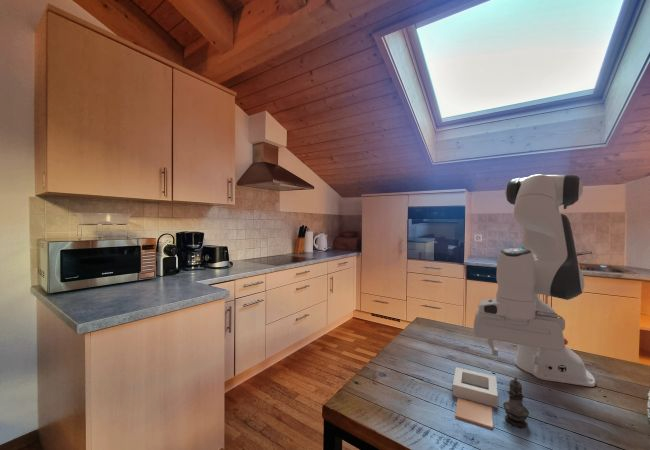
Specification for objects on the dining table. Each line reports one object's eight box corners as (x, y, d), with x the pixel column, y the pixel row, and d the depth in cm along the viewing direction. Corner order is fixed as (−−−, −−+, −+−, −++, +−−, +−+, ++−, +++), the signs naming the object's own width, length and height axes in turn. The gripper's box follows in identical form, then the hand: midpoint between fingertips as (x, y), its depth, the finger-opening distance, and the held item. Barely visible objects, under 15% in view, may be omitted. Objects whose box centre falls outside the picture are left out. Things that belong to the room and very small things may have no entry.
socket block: (496, 386, 90) (496, 376, 90) (497, 408, 80) (497, 396, 80) (456, 377, 96) (455, 367, 96) (452, 395, 86) (452, 384, 86)
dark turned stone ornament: (500, 421, 74) (500, 377, 74) (505, 411, 79) (505, 369, 79) (527, 433, 70) (526, 386, 70) (531, 421, 74) (530, 377, 74)
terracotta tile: (492, 409, 79) (492, 407, 79) (493, 429, 72) (493, 427, 72) (457, 399, 84) (457, 397, 84) (455, 417, 76) (455, 415, 76)
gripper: (561, 311, 72) (561, 363, 72) (473, 300, 82) (473, 346, 82) (568, 317, 66) (568, 375, 66) (473, 305, 77) (472, 354, 77)
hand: (515, 359), depth 74 cm, fingers open, 8 cm apart
